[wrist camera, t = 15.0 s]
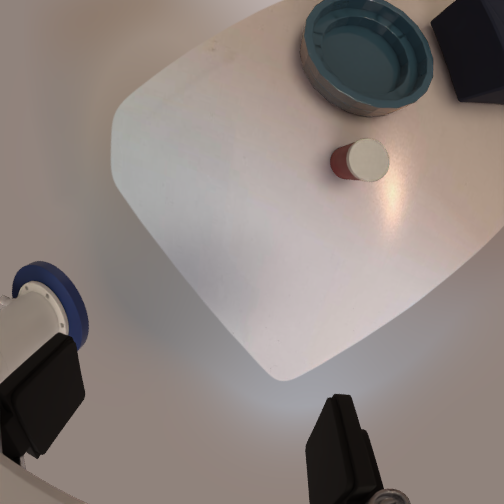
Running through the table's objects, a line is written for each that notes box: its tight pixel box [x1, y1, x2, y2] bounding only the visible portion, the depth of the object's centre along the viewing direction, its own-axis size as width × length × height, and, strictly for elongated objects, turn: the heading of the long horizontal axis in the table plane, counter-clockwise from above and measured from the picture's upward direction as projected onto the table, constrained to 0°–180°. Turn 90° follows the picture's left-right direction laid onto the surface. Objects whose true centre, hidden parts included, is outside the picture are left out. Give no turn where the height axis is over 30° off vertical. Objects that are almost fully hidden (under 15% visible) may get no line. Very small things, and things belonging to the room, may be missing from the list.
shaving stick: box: [330, 138, 389, 182], centre depth 29 cm, size 4×4×9 cm
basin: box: [300, 0, 433, 116], centre depth 27 cm, size 15×15×6 cm
